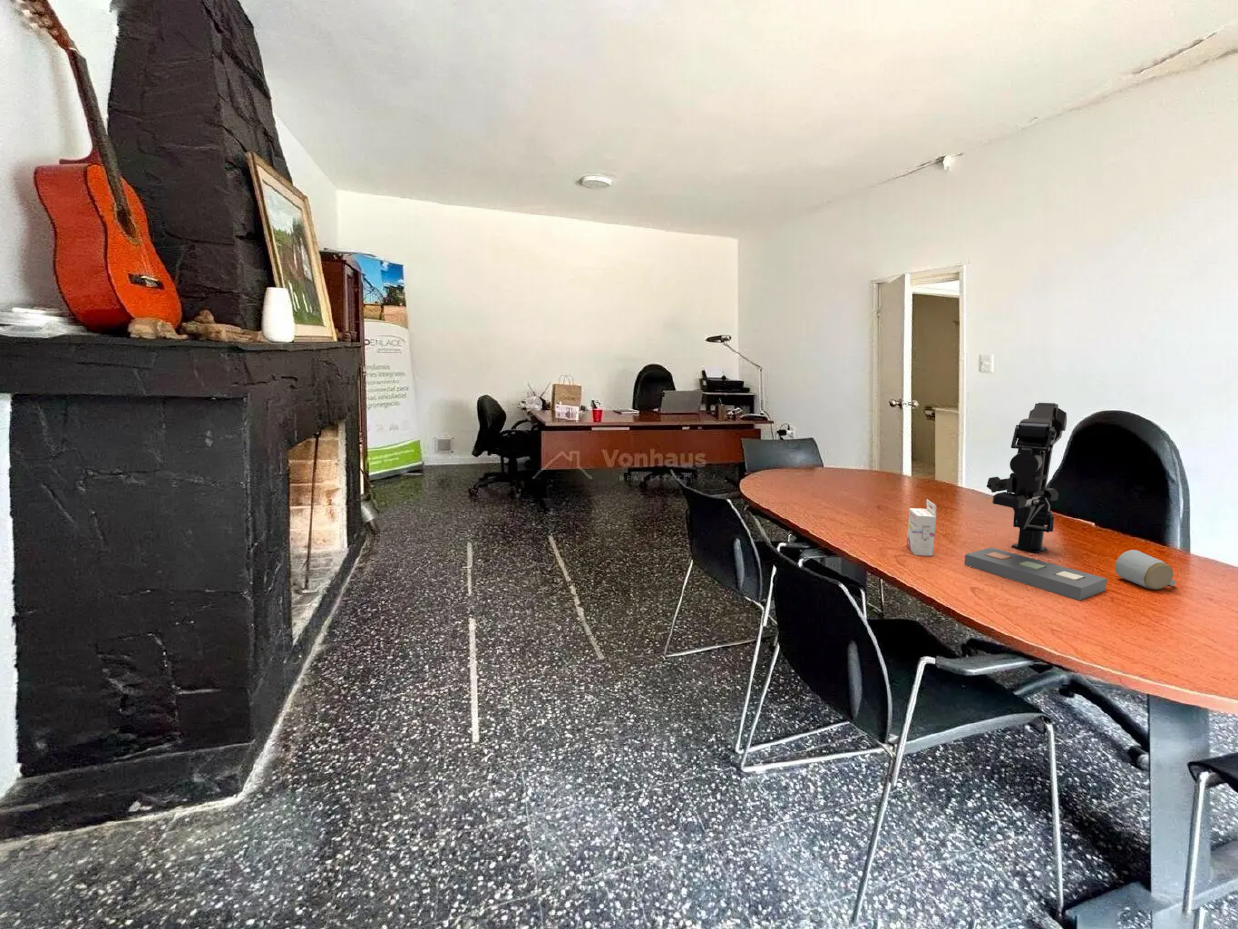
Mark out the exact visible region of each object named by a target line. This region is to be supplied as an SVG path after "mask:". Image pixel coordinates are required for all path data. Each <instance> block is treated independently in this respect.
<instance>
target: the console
mask: <svg viewBox="0 0 1238 929" xmlns="http://www.w3.org/2000/svg"><path fill="white" fill-rule="evenodd" d="M993 552H997V553H1000V554H1004V555H1007V556H1011V558H1009V559H1005V560H1000V559H996V558H993V557H989V556H986V554H989V553H993ZM1026 561H1029V562H1033V563H1037V564H1040V565H1044V566H1045V568H1042V569H1039V570H1035V569H1031V568H1028V567H1024V566H1021V565H1019V563H1023V562H1026ZM963 566H967V567H969V566H971V567H970V568H973V567H974V568H973V569H976V570H980V571H984V572H985V573H990V574H993V575H996V576H998V577H1003V578H1005V579H1008V580H1013V581H1015V582H1019V583H1022V584H1025V585H1028V586H1030V587H1031V586H1032V587H1034V588H1037V589H1041V590H1044V591H1047V592H1051V593H1055V594H1058V595H1060V596H1064V597H1067V598H1070V599H1074V600H1077V601H1082V600H1085V599H1087V598H1090V597H1092V596H1096V595H1098V594H1100V593H1102V592H1105V591H1106V586H1107V581H1108V579H1107V577H1102V576H1099V575H1095V574H1092V573H1089V572H1084V571H1080V570H1077V569H1072V568H1069V567H1066V566H1062V565H1058V564H1054V563H1051V562H1046V561H1044V560H1043V561H1042V560H1040V559H1035V558H1032V557H1028V556H1025V555H1021V554H1017V553H1013V552H1010V551H1006V550H1003V549H999V548H995V547H988V548H984V549H980V550H977V551H971V552H969V553H965V555H964V565H963ZM1063 571H1066V572H1069V573H1073V574H1077V575H1080V576H1084V577H1083V579H1080V580H1078V581H1074V580H1070V579H1067V578H1063V577H1059V576H1056V575H1055V574H1057V573H1060V572H1063Z"/></svg>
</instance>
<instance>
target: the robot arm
mask: <svg viewBox="0 0 1238 929" xmlns="http://www.w3.org/2000/svg"><path fill="white" fill-rule="evenodd" d="M1067 422H1068V413H1067V412H1066V411H1064V410H1063V409H1061V408H1059V404H1058V403H1055V402H1038V403H1035V404H1034V406H1033V408H1032V409H1031V410H1030V411H1029V414H1028V418H1022V419H1021V420H1020V421H1019V424H1016V425H1015V426H1014V427H1015V429H1014V433H1013V436H1012V441H1011V444H1010V448H1011V449H1017V452H1016V454H1015V455H1014V456H1013V457H1012V458H1011V460H1010V461H1009V468H1010V470H1011V471H1012V472H1011V473H1010V474H1009V477H1008V478H1000V477H999V476H994V477H989V478H988V480H987V484H986V487H987V489H988V490H991V491H990V492H991V493H992V494H993V493H996V494H994V495H993V496H992V504H993V505H998V506H1001V507H1002V506H1003V507H1008V508H1012V509H1013V512H1014V513H1013V523H1012V524H1013V528H1018V530H1019V531H1018V537H1017V538H1018V539H1017V543H1014V544H1012V545H1011V547H1012V548H1015V549H1020V550H1022V551H1026V552H1031V553H1034V554H1038V553H1041V552H1045V551H1047V550H1048V547H1046V546H1043V541H1044V533H1045V532H1046V533H1048V534H1049V533H1050V532H1051V533H1052V532H1054V527H1055V516H1054V515H1053V511H1051V504H1050V503H1049V501H1050V502H1054V501H1058V500H1059V491H1057V489H1055V488H1051V487H1047V485H1048V480H1049V474H1050V468H1051V467H1050V466H1051V461H1052V460H1051V459H1052V454H1053V448H1054V445H1056V444H1057V442H1058V441H1059V440H1060V439H1061V438H1062V437H1063V436H1062V434H1063V432H1065V431H1066V428H1067V425H1068V424H1067ZM997 492H998V493H997ZM1048 500H1049V501H1048Z"/></svg>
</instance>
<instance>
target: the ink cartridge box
mask: <svg viewBox="0 0 1238 929" xmlns="http://www.w3.org/2000/svg"><path fill="white" fill-rule="evenodd" d="M908 509H909V512H908V525H907V534H906V547H907V548H908V549H909V550H910V551H911V553H913V555H914V556H924V557H925V556H929V557H932V556H934V549H935V548H934V547H935V546H934V545H935V534H936V526H937V505H936V504H935V503H933V502H932V501H930V500H929V499H928V498H926V508H914V507H913V508H912V507H911V508H908Z"/></svg>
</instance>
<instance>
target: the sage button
mask: <svg viewBox="0 0 1238 929" xmlns="http://www.w3.org/2000/svg"><path fill="white" fill-rule="evenodd" d="M1019 565H1021V566H1024V567H1028V568H1031V569H1035V570H1039V569H1042V568H1045V566H1044V565H1040V564H1037V563H1033V562H1029V561H1026V562H1023V563H1019Z"/></svg>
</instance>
